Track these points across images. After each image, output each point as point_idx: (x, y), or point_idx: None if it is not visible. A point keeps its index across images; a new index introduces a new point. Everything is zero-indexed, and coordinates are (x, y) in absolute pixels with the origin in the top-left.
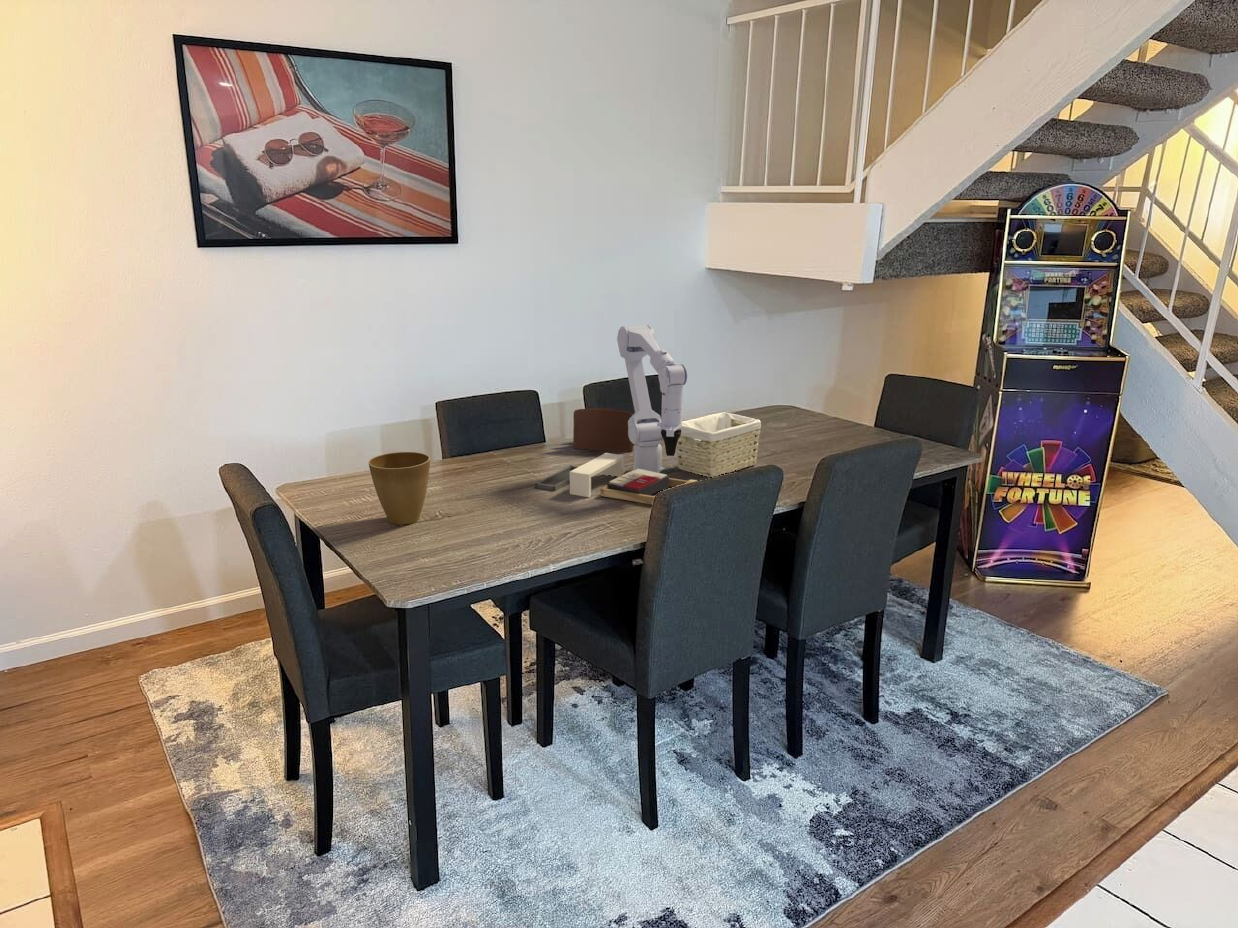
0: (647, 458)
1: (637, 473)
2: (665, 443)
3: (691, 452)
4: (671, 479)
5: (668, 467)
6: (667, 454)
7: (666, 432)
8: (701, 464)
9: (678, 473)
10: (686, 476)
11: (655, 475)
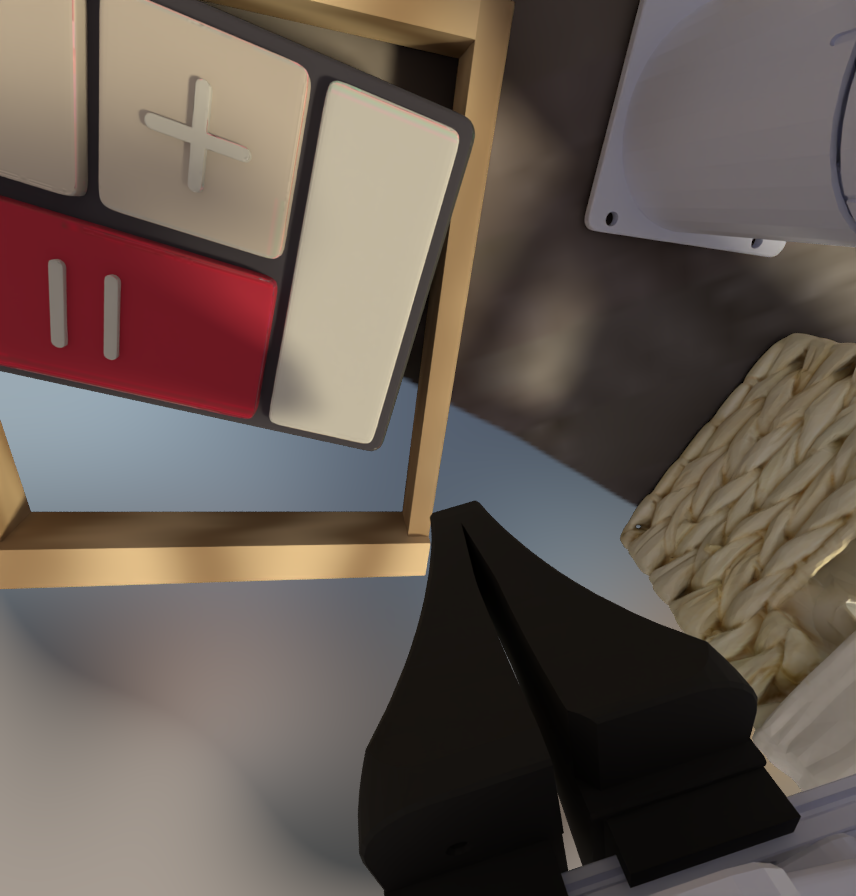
0: (715, 160)
1: (289, 185)
2: (421, 626)
3: (810, 487)
4: (421, 434)
5: (815, 263)
6: (433, 527)
7: (418, 872)
8: (700, 518)
9: (690, 363)
10: (636, 421)
11: (318, 369)
